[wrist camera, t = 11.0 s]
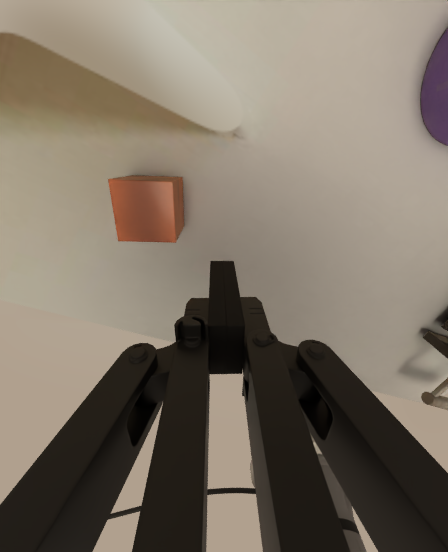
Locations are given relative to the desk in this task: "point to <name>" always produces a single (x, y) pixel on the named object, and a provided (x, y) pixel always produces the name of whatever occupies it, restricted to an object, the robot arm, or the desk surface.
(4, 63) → the desk surface
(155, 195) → the block
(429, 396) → the drawer
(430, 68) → the tape roll
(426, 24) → the desk surface
